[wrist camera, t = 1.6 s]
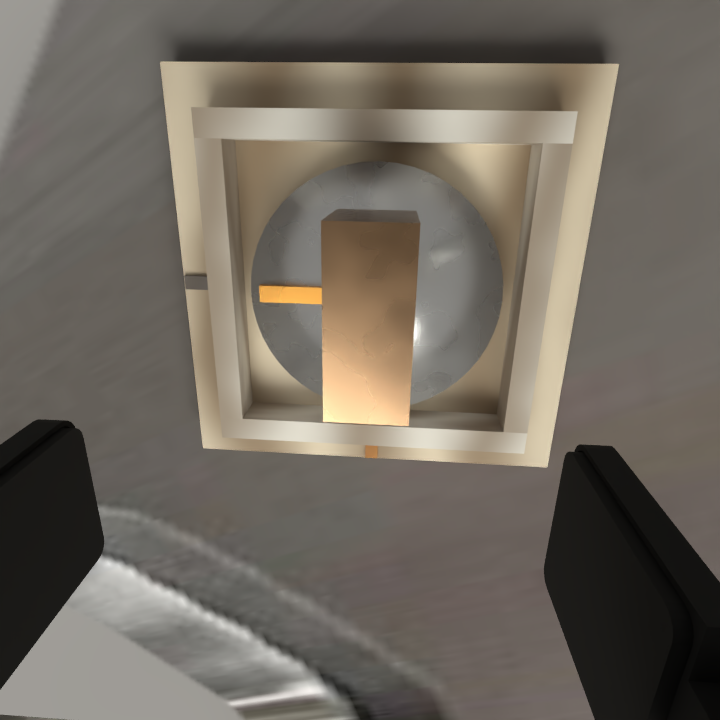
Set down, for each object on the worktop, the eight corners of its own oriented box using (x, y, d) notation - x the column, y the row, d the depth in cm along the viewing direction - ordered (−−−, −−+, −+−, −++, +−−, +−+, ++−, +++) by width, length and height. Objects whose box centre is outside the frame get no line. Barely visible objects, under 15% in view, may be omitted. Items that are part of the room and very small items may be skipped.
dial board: (605, 70, 23) (639, 54, 19) (540, 453, 30) (557, 488, 27) (174, 67, 24) (138, 52, 21) (211, 435, 31) (190, 466, 28)
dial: (512, 163, 23) (554, 163, 17) (483, 401, 27) (508, 473, 21) (251, 159, 24) (197, 157, 17) (265, 391, 28) (225, 457, 22)
